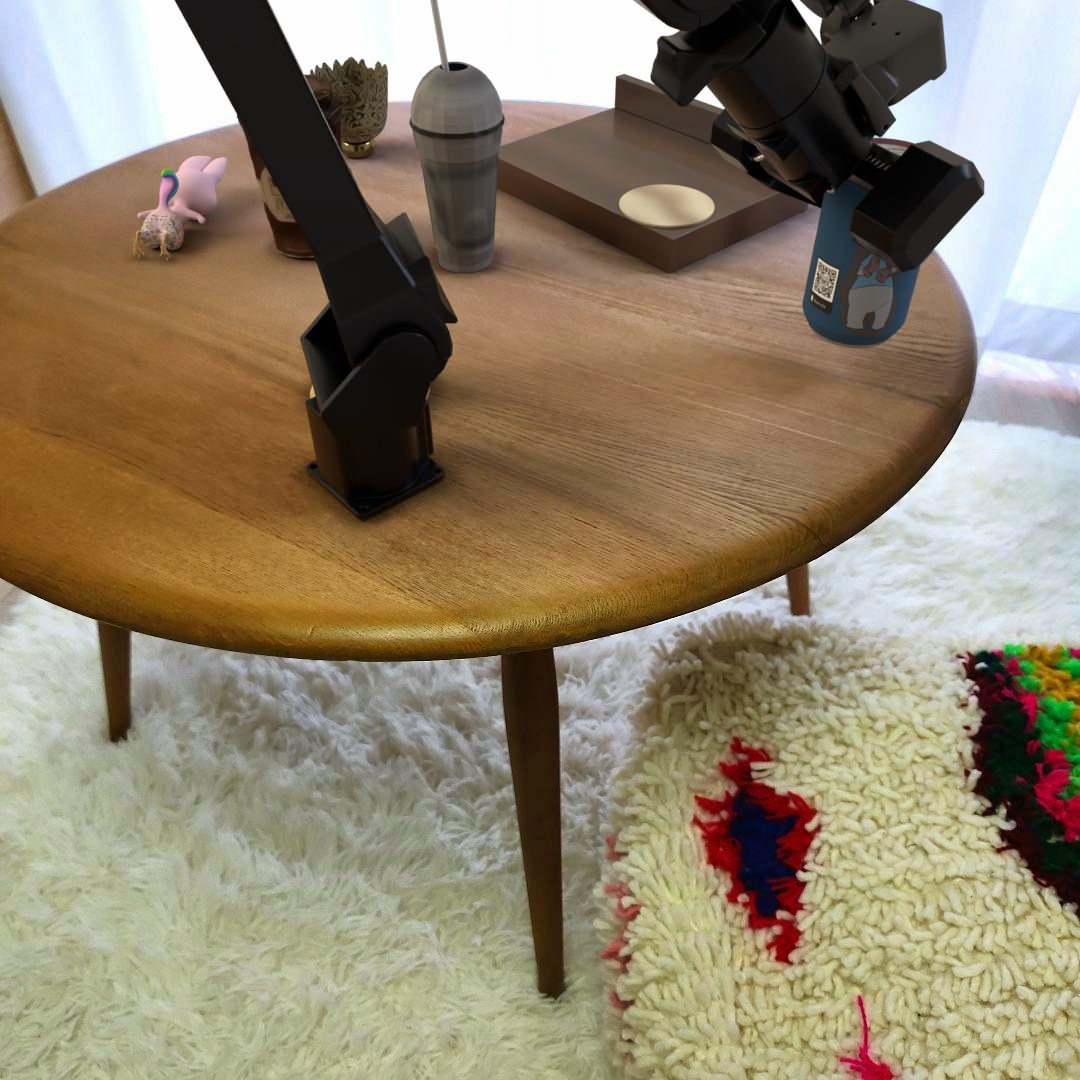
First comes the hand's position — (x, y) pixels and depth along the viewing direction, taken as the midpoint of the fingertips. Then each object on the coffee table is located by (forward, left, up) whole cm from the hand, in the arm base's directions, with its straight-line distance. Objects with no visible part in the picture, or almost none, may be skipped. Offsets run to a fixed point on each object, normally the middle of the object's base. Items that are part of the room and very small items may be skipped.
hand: (888, 233), depth 67 cm
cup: (-5, +56, -10) cm, 57 cm away
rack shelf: (+9, +30, -10) cm, 33 cm away
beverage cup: (-11, +31, -10) cm, 35 cm away
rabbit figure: (-25, +53, -10) cm, 60 cm away
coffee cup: (-19, +42, -10) cm, 48 cm away
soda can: (-1, 0, -7) cm, 7 cm away
